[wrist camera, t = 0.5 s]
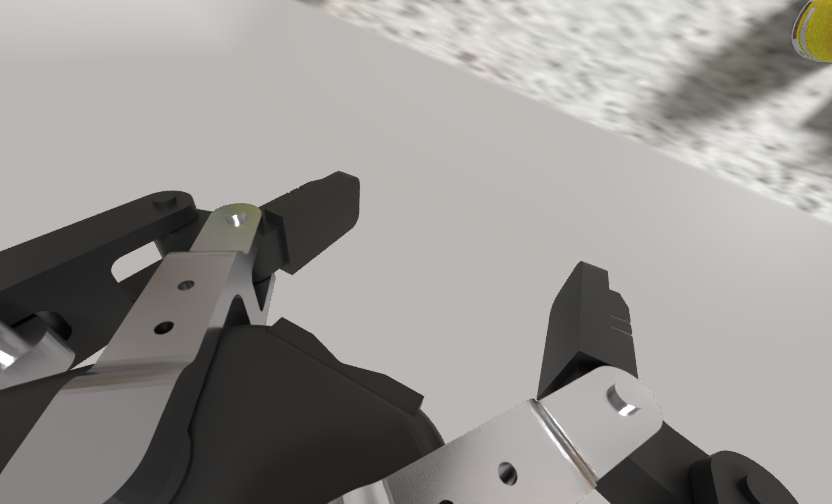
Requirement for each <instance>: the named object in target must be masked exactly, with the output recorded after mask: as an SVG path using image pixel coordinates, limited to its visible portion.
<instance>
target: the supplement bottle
mask: <svg viewBox="0 0 832 504" xmlns="http://www.w3.org/2000/svg"><path fill="white" fill-rule="evenodd" d="M791 39H792V44H793V47H794V49H795V51H796V52H797V53H798V54H799V55H801V56H802V57H804V58H806V59H809V60H812V61H818V62H830V63H832V0H809V1H808V2H807V3H806V5H805V6H804V7H803V9H802V10H801V12H800V13H799V15H798V17H797V19H796V21H795V23H794V26H793V29H792V35H791Z"/></svg>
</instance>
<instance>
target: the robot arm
mask: <svg viewBox="0 0 832 504" xmlns="http://www.w3.org/2000/svg"><path fill="white" fill-rule="evenodd" d="M359 196H360V182H359V179H358V178H357V177H355V176H352V175H349V174H347V173H344V172H341V171H337V172H335V173H333V174H331V175H329V176H327V177H325V178H323V179H320V180H315V181H311V182H308V183H306V184H304V185H302V186H300V187H299V189H298V188H296V189H294V190H292V191H291V192H290V193H286V194H284V195H282V196H280V197H278V198H276V199H274V200H272V201H270V202H268V203H266V204H264V205H262V206H260V207H256V206H254V205H251V204H244V203H239V204H238V203H237V204H229V205H226V206H223V207H220V208H218V209H216V210H215V211H213V212H211V211H206V210H200V209H196V206H195V203H194V201H193V198H192V196H191V195H190V194H188V193H186V192H182V191H162V192H157V193H153V194H150V195H147V196H145V197H142V198H139V199H137V200H134V201H131V202H129V203H126V204H124V205H121V206H118V207H116V208H113V209H110V210H108V211H105V212H103V213H100V214H97V215H95V216H92V217H90V218H87V219H84V220H82V221H79V222H76V223H74V224H72V225H69V226H66V227H63V228H61V229H58V230H55V231H53V232H50V233H47V234H45V235H42V236H40V237H37V238H34V239H32V240H29V241H27V242H24V243H21V244H19V245H16V246H13V247H11V248H8V249H6V250H3V251H0V504H577V503H578V502H579V501H580V500H581V499H582V498H584V497H585V496H586V495H587V494H589V493H590V492H591V491H592V490H593V489H594V488H595V489H596V490H597V491H598V492H599V493H600V494H601V495H602V496H603V497H604V498H605V499H606V500H607V501H609V502H610V503H611V504H798V502H797V501H796V500H795V498H794V497H793V496H792V495H791V493H790V492H789V491H788V490H787V489H786V488H785V487H784V486H783V484H782V483H781V482H780V481H779V480H778V479H776V478H775V477H774V476H773V475H772V474H771V473H770V472H768V471H767V470H766V469H765V468H763V467H762V466H760V465H759V464H757V463H756V462H755V461H753V460H751V459H749V458H748V457H746V456H743V455H741V454H739V453H736V452H732V451H720V452H717V453H715V454H713V455H710V456H709V455H708V454H706V453H705V452H703V451H702V450H701V449H699V448H698V447H697V446H695V445H694V444H692V443H691V442H690V441H689V440H687V439H686V438H684V437H683V436H682V435H680V434H679V433H678V432H676V431H675V430H674V429H672V428H671V427H670V426H669V425H667V424H666V423H665V422H664V421H663V417H662V412H661V409H660V406H659V404H658V402H657V401H656V399H655V397H654V396H653V394H652V393H651V392H650V391H649V389H648V388H646V386H645V385H644V384H643V383H641V382H640V381H639V380H638V374H637V367H636V359H635V352H634V344H633V338H632V336H631V335H632V329H631V325H630V314H629V308H628V306H627V305H626V303H625V301H624V300H623V298H622V297H621V295H620V294H619V293H618V292H615V291H612V290H609V281H608V271H606V270H604V269H601V268H599V267H596V266H593V265H591V264H588V263H585V262H582V261H580V262H579V263H578V264H577V266H576V267H575V268H574V270H573V272H572V273H571V275H570V276H569V278H568V279H567V281H566V282H565V284H564V286H563V287H562V289H561V290H560V292H559V293H558V295H557V297H556V298H555V301H554V303H553V305H552V308H551V312H550V317H549V324H548V330H547V336H546V343H545V349H544V356H543V362H542V368H541V375H540V381H539V388H538V394H537V400H538V401H537V402H536V401H535V399H529V400H527V401H525V402H522V403H521V404H519V405H517V406H515V407H513V408H512V409H510V410H508V411H506V412H504V413H503V414H500V415H499V416H497V417H495V418H493V419H491V420H490V421H488V422H486V423H484V424H482V425H481V426H479V427H477V428H475V429H473V430H472V431H470V432H468V433H466V434H464V435H462V436H460V437H459V438H457V439H455V440H453V441H451V442H450V443H448V444H446V445H445V443H444V441H443V439H442V437H441V435H440V434H439V432H438V430H437V429H436V427H435V426H434V424H433V423H432V422H431V420H430V419H429V418H428V417H427V416H426V415H425V413H424V412H423V411H422V410H420V407H421V404H422V401H423V398H424V396H423V395H421V394H419V393H417V392H415V391H414V390H412V389H410V388H408V387H406V386H405V385H403V384H401V383H399V382H397V381H396V380H394V379H392V378H390V377H389V376H387V375H385V374H381V373H377V372H373V371H370V370H366V369H362V368H358V367H354V366H350V365H347V364H343V363H341V362H340V361H338V360H337V359H336V358H335V357H334V355H333V354H332V353H331V352H330V351H328V349H327V348H326V347H325V346H324V345H323V344H322V343H321V342H320V341H319V340H318V339H317V338H316V337H315V336H314V335H313V334H312V333H310V332H308V331H306V330H304V329H303V328H301V327H299V326H297V325H295V324H294V323H292V322H290V321H288V320H286V319H285V318H283V317H281V318H280V319H279V320H278V321H277V322H276V323H275V324H274V325H272V326H266V320H267V315H268V310H269V306H270V301H271V296H272V292H273V288H274V283H275V273H274V272H275V271H277V270H278V269H281V270H283V271H285V272H287V273H289V274H291V275H293V274H294V273H296V272H297V271H298V270H299V269H301V268H302V267H303V266H304V265H306V264H307V263H308V262H309V261H311V260H312V259H313V258H315V257H316V256H317V255H319V254H320V253H321V252H322V251H324V250H325V249H326V248H328V247H329V246H330V245H331V244H333V243H334V242H335V241H337V240H338V239H339V238H340V237H342V236H343V235H344V234H345V233H347V232H348V231H349V230H351V229H352V228H353V227H354V225H355V224H356V222H357V220H358V217H359V198H360V197H359ZM152 241H154V242H155V244H156V247H157V248H158V250H159V252H160V254H161V256H162V259H161V260H159V261H157V262H155V263H153V264H151V265H150V266H148V267H146V268H144V269H142V270H141V271H139V272H137V273H135V274H133V275H132V276H130V277H128V278H126V279H124V280H122V281H121V282H119V283H118V282H117V281H116V279H115V278H114V276H113V275H112V273H111V268H112V265H113V263H114V262H115V261H116V260H117V259H119V258H120V257H122V256H124V255H126V254H128V253H130V252H132V251H134V250H136V249H138V248H140V247H142V246H144V245H146V244H148V243H150V242H152ZM106 345H107V347H106V348H105V350H104V351H103V353H102V354H101V356H100V357H99V359H98V360H97V362H96V363H95V364H92V365H88V366H84V367H81V368H77V369H73V370H71V369H72V368H74V367H75V366H76V365H78V364H79V363H81V362H82V361H84V360H86V359H87V358H88V357H90V356H91V355H93V354H94V353H96V352H97V351H99V350H100V349H102V348H103V347H105V346H106Z"/></svg>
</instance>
